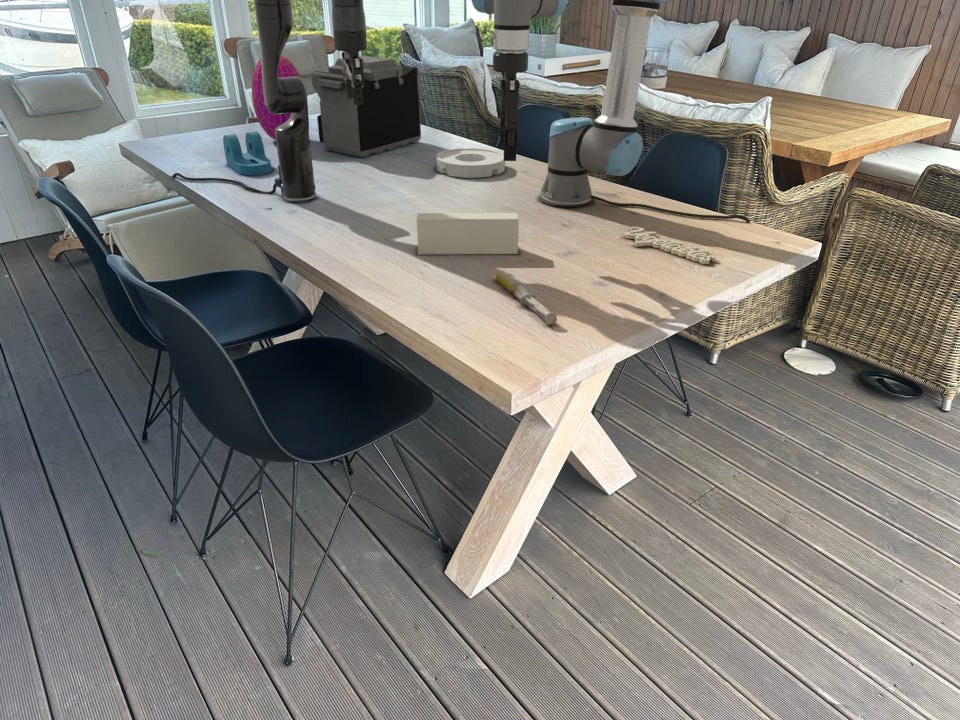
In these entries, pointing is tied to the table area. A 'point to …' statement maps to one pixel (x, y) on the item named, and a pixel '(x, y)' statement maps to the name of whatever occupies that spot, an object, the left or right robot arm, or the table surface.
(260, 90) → the decorative egg
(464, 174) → the ashtray
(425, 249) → the bar
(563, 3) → the right robot arm
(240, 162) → the camera mount
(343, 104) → the tool box
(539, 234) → the table surface
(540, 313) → the syringe
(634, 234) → the decorative sign
